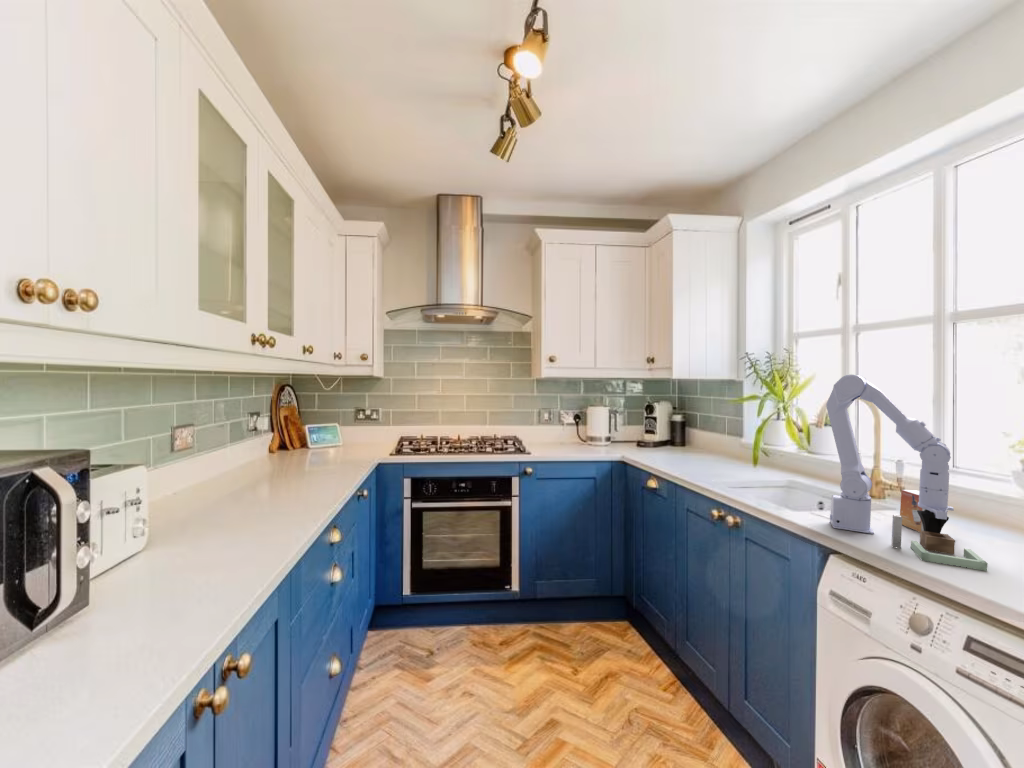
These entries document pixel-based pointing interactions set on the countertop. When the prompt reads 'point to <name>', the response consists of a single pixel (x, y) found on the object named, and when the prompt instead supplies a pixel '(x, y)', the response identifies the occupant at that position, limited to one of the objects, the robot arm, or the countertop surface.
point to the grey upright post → (896, 531)
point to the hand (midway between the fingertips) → (931, 539)
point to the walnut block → (937, 542)
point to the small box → (911, 510)
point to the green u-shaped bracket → (951, 558)
